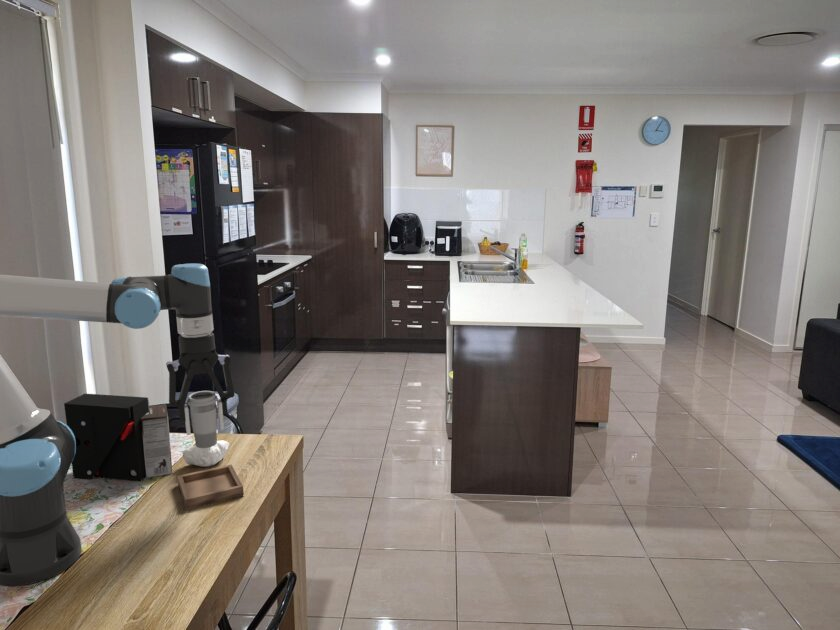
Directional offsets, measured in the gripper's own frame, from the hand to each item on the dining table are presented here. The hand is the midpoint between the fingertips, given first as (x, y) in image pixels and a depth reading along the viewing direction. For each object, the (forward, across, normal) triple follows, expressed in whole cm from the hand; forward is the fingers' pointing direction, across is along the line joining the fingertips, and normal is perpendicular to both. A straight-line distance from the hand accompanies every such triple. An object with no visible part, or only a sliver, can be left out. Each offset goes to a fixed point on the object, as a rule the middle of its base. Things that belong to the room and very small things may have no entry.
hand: (205, 429), depth 138 cm
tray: (+17, 0, +4) cm, 18 cm away
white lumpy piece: (+18, +2, +19) cm, 26 cm away
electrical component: (+17, -20, +24) cm, 36 cm away
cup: (+4, 0, 0) cm, 4 cm away
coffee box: (+17, -10, +22) cm, 30 cm away
